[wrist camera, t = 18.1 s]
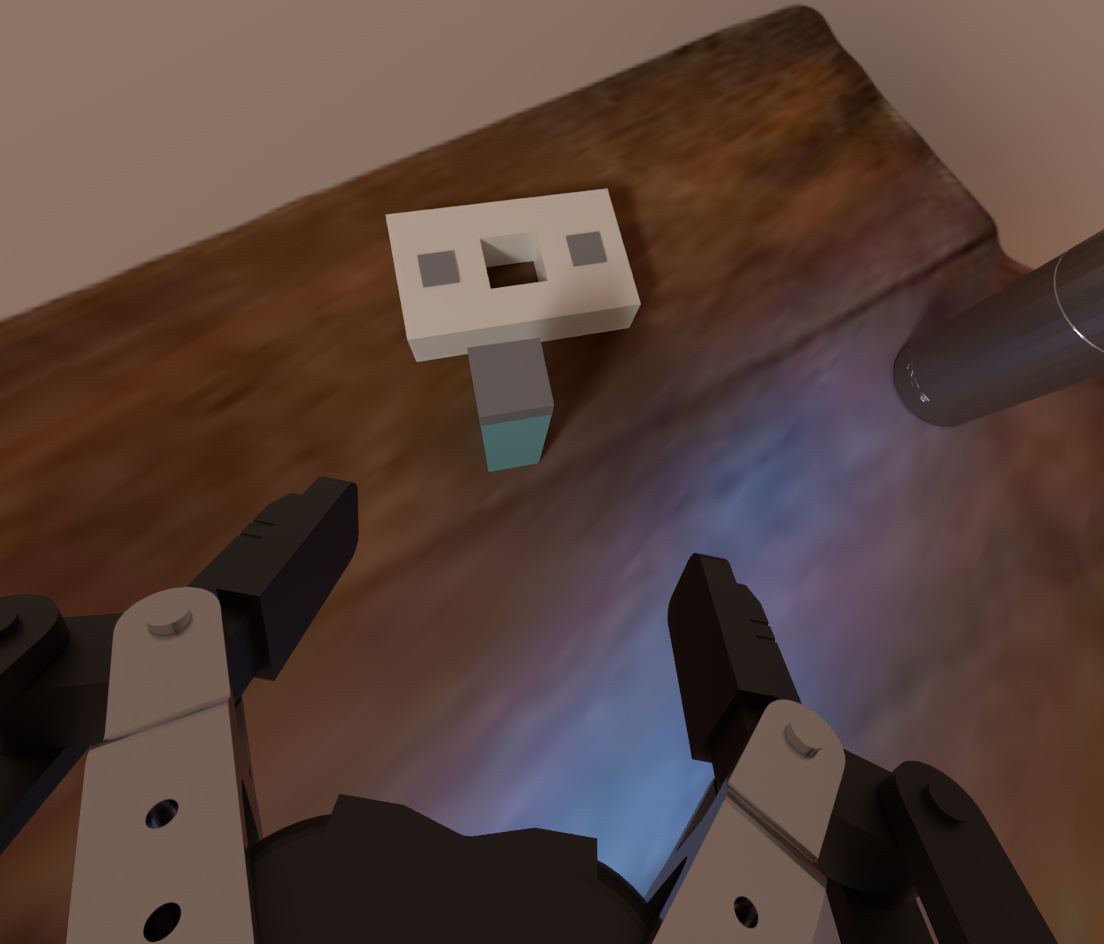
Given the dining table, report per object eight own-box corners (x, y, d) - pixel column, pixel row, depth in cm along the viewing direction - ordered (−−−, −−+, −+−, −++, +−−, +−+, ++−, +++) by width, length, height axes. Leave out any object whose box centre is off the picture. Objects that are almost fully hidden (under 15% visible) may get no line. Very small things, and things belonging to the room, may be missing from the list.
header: (599, 220, 48) (607, 186, 44) (629, 327, 45) (641, 302, 41) (396, 246, 45) (385, 212, 41) (416, 362, 43) (407, 338, 38)
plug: (529, 415, 42) (539, 337, 29) (538, 463, 41) (554, 405, 28) (480, 423, 42) (466, 347, 28) (488, 471, 41) (479, 417, 27)
